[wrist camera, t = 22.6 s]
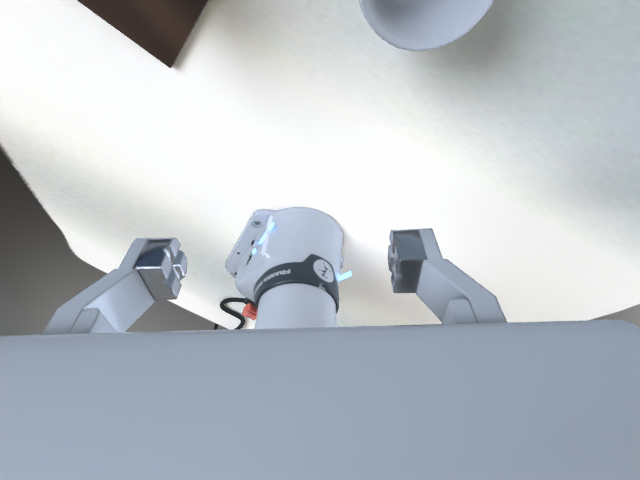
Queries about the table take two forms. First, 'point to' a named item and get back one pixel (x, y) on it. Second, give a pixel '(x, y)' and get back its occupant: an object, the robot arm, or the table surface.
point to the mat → (152, 22)
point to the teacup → (423, 21)
